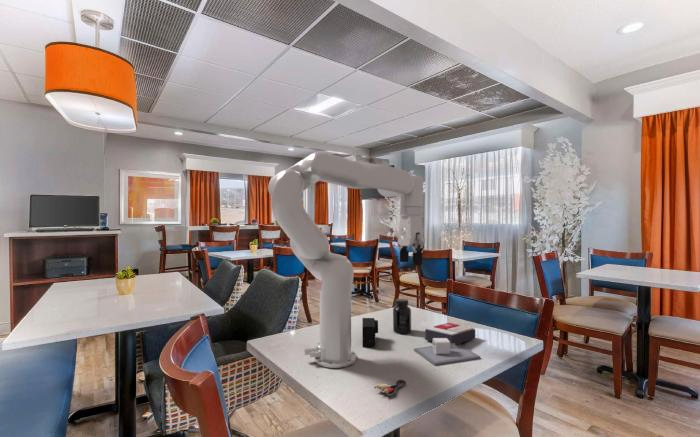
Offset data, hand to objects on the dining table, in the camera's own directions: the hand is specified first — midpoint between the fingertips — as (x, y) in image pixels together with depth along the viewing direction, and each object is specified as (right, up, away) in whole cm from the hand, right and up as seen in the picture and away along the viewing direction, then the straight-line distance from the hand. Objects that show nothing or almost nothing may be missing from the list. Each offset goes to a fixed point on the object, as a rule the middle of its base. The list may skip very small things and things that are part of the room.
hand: (410, 263), depth 110 cm
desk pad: (+10, -27, -8) cm, 30 cm away
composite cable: (-10, -28, -30) cm, 42 cm away
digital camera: (-13, -28, +3) cm, 31 cm away
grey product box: (+15, -27, +4) cm, 32 cm away
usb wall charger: (+9, -27, -8) cm, 30 cm away
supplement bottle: (-1, -28, +14) cm, 31 cm away
